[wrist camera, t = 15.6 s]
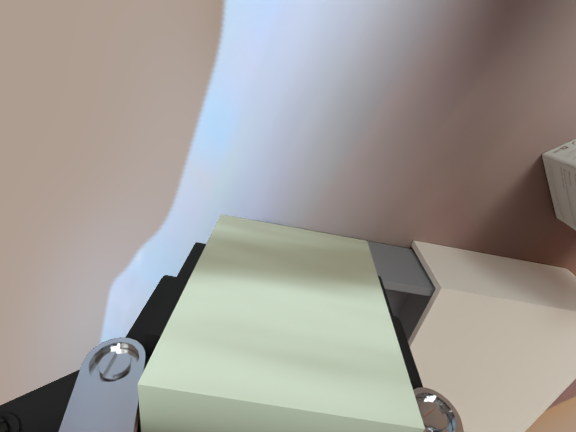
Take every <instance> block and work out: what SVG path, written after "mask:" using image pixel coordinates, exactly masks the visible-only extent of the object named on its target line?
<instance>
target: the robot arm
mask: <svg viewBox="0 0 576 432" xmlns="http://www.w3.org/2000/svg"><path fill="white" fill-rule="evenodd" d="M205 246H206V244H203V243H195V245H194V247H193V248H192V250H191V252H190V254H189V256H188V257H187V259H186V261H185V263H184V265H183V267H182V268H181V270H180V272H179V274H178V276H177V277H173V276H168V275H165V276H163V278H162V279H161V280H160V282H159V284H158V285H157V287H156V289H155V290H154V292H153V293H152V295H151V297H150V298H149V300H148V302H147V303H146V305H145V307H144V308H143V310H142V311H141V313H140V315H139V316H138V318H137V320H136V321H135V323H134V324H133V326H132V328H131V329H130V331H129V333H128V334H127V336H126V338H115V339H110V340H108V341H105V342H103V343H101V344H99V345H98V346H96V347H95V348H93V349H92V350H91V352H89V353H88V355H87V356H86V357H85V359H84V361H83V363H82V366H81V369H80V370H78V371H76V372H73V373H71V374H69V375H67V376H65V377H62V378H60V379H58V380H56V381H54V382H51V383H49V384H47V385H45V386H43V387H40V388H38V389H36V390H34V391H31V392H29V393H27V394H25V395H23V396H21V397H18V398H16V399H14V400H12V401H9V402H7V403H5V404H3V405H0V432H141V423H140V410H139V398H138V386H137V384H138V382H139V380H140V378H141V376H142V374H143V372H144V370H145V368H146V366H147V364H148V362H149V360H150V357H151V355H152V353H153V351H154V349H155V347H156V345H157V343H158V341H159V339H160V337H161V335H162V333H163V331H164V329H165V327H166V325H167V323H168V321H169V319H170V317H171V315H172V313H173V311H174V309H175V307H176V305H177V303H178V301H179V299H180V297H181V295H182V293H183V291H184V289H185V287H186V284H187V282H188V280H189V278H190V276H191V274H192V272H193V270H194V268H195V266H196V264H197V262H198V260H199V258H200V256H201V254H202V252H203V250H204V248H205ZM378 278H379V281H380V285H381V288H382V291H383V294H384V298H385V301H386V304H387V307H388V311H389V314H390V317H391V320H392V323H393V327H394V330H395V333H396V336H397V340H398V343H399V346H400V349H401V353H402V356H403V359H404V362H405V366H406V369H407V372H408V375H409V378H410V382H411V385H412V388H413V391H414V395H415V398H416V401H417V404H418V408H419V411H420V414H421V417H422V421H423V424H424V427H425V430H424V431H423V432H464V431H463V425H462V421H461V418H460V416H459V414H458V412H457V410H456V409H455V407H454V406H453V405H452V404H451V403H450V401H449V400H448V399H446V398H445V397H444V396H443V395H441V394H440V393H438V392H436V391H434V390H432V389H429V388H425V387H423V385H422V382H421V379H420V376H419V373H418V370H417V367H416V364H415V361H414V358H413V355H412V352H411V349H410V347H409V344H408V341H407V338H406V335H405V332H404V329H403V326H402V323H401V321H400V319H399V317H397V316H393V313H392V310H391V307H390V303H389V300H388V297H387V294H386V291H385V288H384V285H383V282H382V279H381V277H380V276H378Z"/></svg>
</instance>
